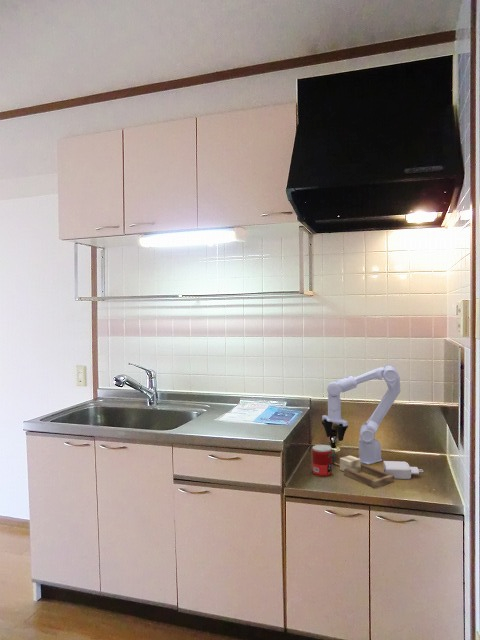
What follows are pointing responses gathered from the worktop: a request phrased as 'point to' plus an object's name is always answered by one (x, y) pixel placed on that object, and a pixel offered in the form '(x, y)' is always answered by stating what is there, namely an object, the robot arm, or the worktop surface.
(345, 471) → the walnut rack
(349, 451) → the worktop surface
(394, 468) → the charger
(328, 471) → the canned food
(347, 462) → the cream grey uneven dumbbell
